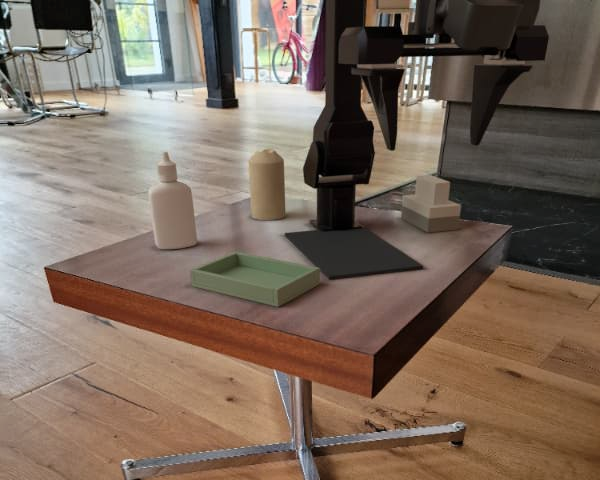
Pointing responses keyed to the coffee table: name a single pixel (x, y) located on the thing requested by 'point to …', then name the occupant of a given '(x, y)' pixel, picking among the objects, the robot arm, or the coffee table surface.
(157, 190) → the eye dropper bottle
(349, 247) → the mat
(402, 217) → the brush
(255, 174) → the candle
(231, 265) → the tray
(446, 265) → the coffee table surface
